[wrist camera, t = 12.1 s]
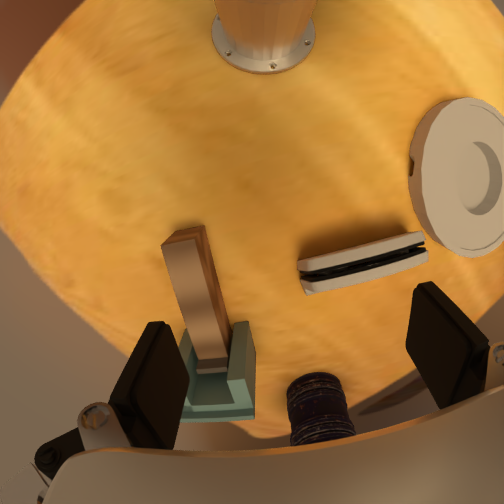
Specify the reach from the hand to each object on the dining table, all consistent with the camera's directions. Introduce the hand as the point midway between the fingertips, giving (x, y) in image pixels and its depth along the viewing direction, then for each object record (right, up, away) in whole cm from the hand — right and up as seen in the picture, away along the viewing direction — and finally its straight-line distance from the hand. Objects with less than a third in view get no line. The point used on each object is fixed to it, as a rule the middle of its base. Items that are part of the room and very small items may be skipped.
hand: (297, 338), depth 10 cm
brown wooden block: (-8, -1, +29) cm, 30 cm away
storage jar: (+9, -21, +35) cm, 42 cm away
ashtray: (+30, +15, +23) cm, 41 cm away
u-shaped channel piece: (-6, -10, +32) cm, 34 cm away
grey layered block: (+12, +3, +27) cm, 30 cm away
